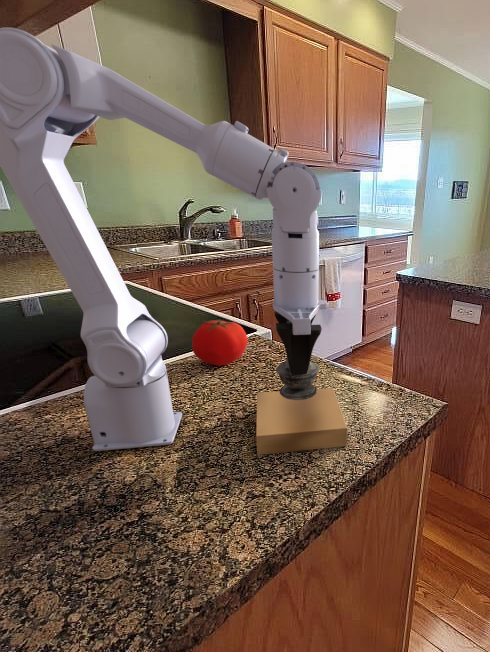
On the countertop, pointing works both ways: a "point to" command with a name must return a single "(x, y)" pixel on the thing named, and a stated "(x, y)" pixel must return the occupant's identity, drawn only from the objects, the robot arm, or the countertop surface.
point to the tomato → (219, 342)
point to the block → (299, 423)
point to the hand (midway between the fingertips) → (297, 366)
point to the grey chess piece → (297, 381)
